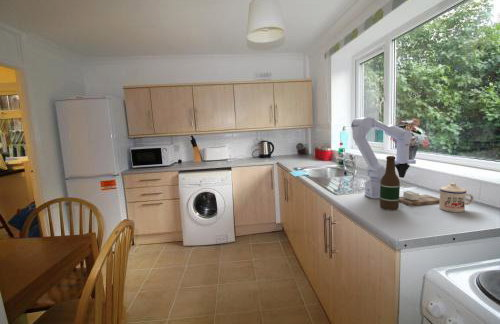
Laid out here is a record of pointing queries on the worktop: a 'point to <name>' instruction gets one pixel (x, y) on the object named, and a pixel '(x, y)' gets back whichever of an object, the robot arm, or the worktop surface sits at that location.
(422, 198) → the console board
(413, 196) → the fader tab
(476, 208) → the worktop surface
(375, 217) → the worktop surface
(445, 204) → the teacup with lid
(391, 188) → the beer bottle
